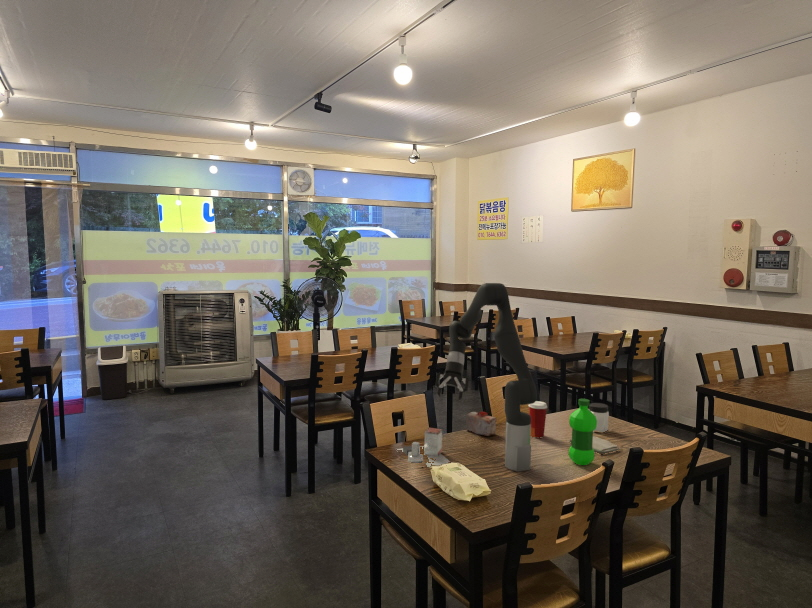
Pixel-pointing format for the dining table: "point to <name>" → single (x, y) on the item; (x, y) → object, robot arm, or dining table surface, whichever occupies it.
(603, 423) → the jar
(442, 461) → the mat
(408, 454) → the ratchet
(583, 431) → the plastic bottle
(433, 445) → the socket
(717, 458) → the dining table surface
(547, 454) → the dining table surface
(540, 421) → the coffee cup
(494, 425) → the food item
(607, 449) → the washcloth
